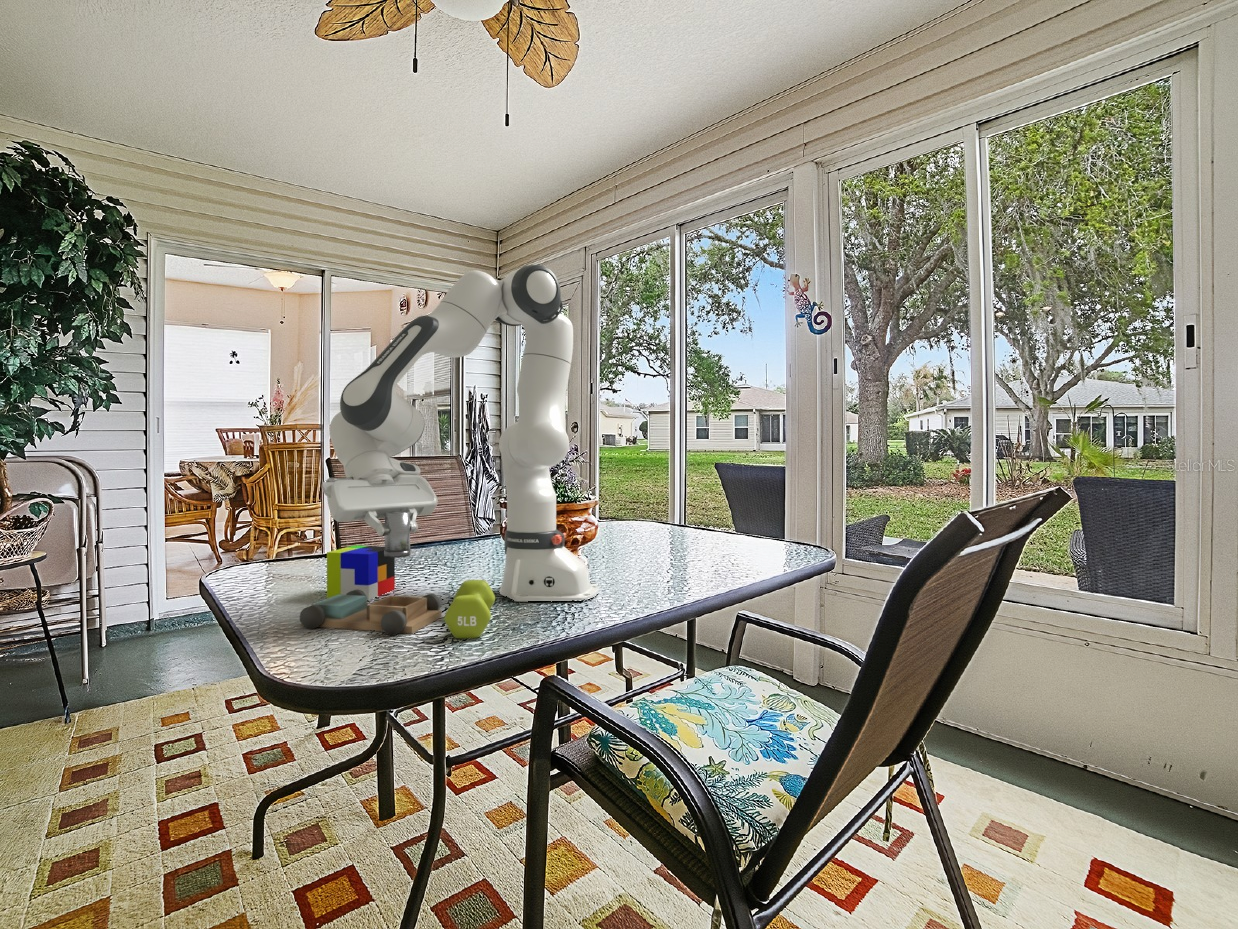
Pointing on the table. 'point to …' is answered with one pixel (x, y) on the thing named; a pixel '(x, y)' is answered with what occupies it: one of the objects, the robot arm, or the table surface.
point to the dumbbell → (470, 609)
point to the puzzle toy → (360, 571)
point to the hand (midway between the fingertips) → (399, 532)
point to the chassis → (373, 613)
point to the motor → (397, 534)
